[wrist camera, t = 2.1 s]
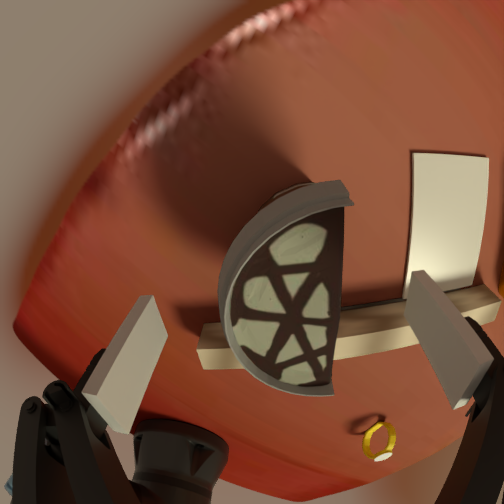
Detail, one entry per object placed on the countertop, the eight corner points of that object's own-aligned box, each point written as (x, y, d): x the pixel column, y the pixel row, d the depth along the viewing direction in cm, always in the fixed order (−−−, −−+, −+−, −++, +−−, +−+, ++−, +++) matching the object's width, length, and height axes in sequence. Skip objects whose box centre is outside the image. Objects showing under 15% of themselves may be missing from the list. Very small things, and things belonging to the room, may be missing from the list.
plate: (402, 297, 23) (403, 299, 23) (411, 152, 18) (413, 153, 18) (470, 283, 22) (472, 285, 22) (486, 157, 17) (488, 158, 17)
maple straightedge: (209, 343, 26) (203, 369, 23) (202, 319, 25) (195, 345, 21) (478, 303, 23) (494, 320, 20) (485, 280, 22) (502, 297, 19)
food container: (224, 167, 19) (187, 200, 10) (311, 161, 19) (354, 189, 10) (242, 312, 24) (231, 406, 15) (312, 307, 24) (333, 400, 15)
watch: (380, 414, 32) (392, 445, 26) (392, 415, 32) (404, 445, 27) (355, 436, 34) (363, 466, 28) (368, 437, 34) (376, 466, 28)
